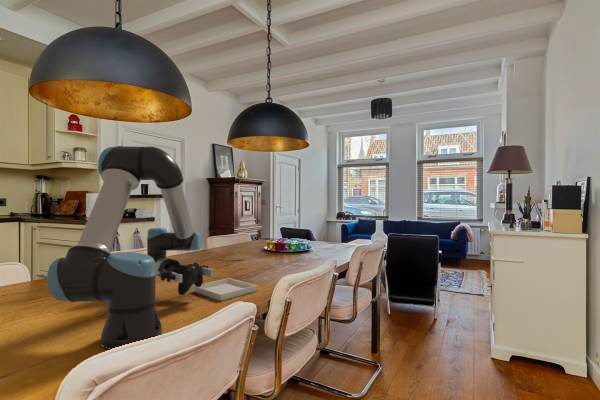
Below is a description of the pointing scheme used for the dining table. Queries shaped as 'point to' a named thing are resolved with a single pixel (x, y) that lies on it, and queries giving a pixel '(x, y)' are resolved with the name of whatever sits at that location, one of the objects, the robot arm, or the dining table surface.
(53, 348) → the dining table surface
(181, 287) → the gaming controller
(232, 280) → the tray
